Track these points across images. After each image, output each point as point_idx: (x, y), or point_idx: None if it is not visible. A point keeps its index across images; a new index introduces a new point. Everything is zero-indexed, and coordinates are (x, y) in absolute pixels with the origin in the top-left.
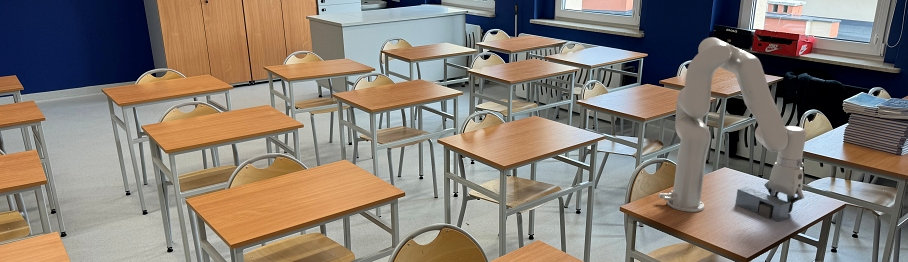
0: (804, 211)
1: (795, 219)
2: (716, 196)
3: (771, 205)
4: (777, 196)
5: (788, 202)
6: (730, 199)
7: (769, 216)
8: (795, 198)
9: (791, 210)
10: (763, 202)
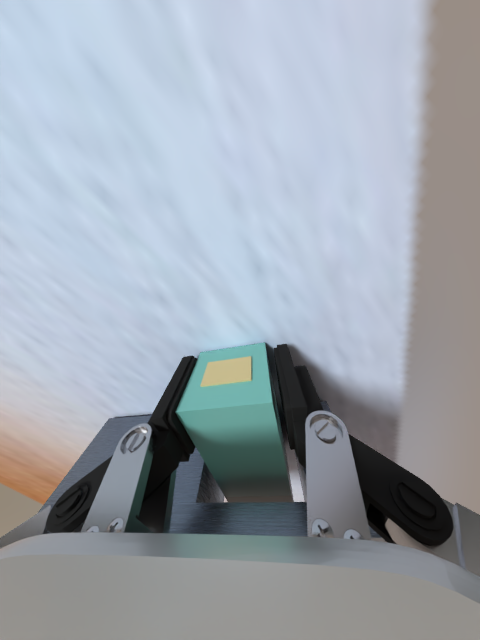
0: (292, 191)
1: (347, 365)
2: (53, 447)
3: (271, 499)
4: (153, 420)
5: (373, 539)
6: (78, 431)
7: (286, 457)
8: (421, 549)
9: (306, 371)
10: (214, 490)
